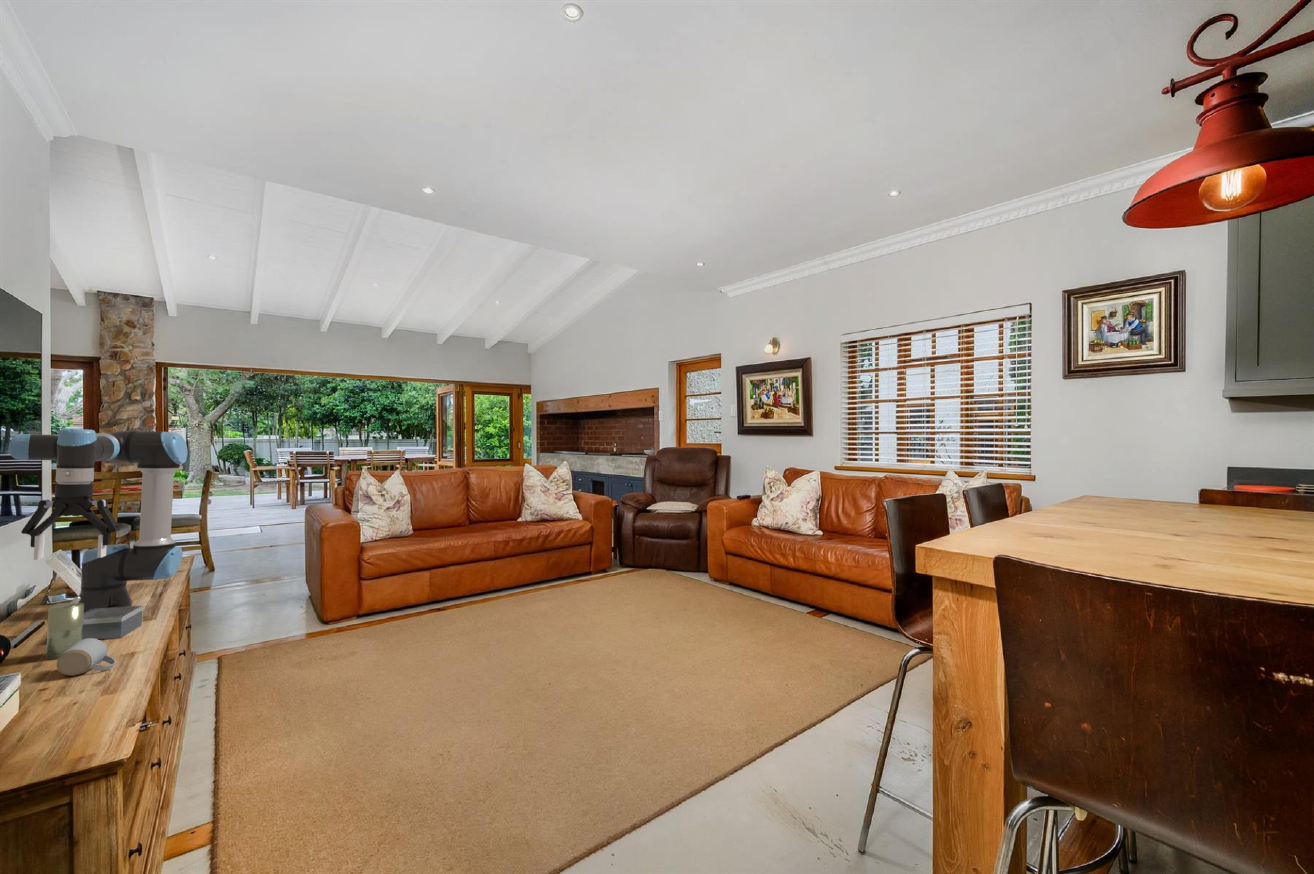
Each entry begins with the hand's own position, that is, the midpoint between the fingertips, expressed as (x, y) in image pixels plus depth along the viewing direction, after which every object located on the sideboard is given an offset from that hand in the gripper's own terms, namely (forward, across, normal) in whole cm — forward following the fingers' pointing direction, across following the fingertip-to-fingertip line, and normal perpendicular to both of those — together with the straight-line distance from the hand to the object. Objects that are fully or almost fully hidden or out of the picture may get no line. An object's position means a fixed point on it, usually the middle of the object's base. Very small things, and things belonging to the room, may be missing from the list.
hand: (70, 557), depth 158 cm
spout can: (+28, -1, +2) cm, 28 cm away
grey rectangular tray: (+28, 0, +23) cm, 36 cm away
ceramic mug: (+28, +11, -13) cm, 33 cm away
